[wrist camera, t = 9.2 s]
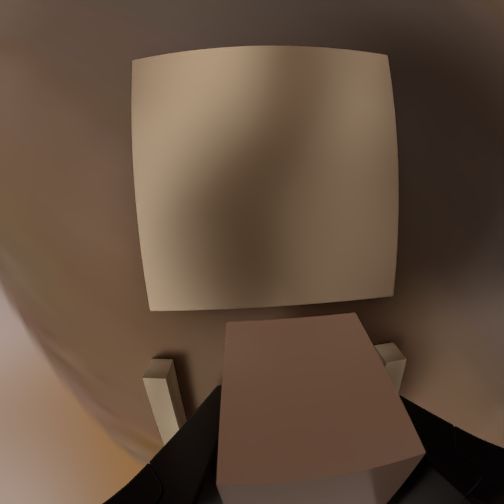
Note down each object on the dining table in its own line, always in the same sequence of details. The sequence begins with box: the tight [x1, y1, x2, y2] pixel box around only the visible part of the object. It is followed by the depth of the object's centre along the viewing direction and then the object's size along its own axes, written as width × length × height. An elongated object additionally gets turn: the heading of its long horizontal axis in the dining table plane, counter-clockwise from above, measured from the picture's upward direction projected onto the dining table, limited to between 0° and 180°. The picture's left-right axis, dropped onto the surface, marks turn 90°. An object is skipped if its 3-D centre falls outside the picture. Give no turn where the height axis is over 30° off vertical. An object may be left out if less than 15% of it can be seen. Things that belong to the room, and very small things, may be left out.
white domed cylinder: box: [216, 313, 426, 504], centre depth 8 cm, size 11×7×7 cm, turn 3°
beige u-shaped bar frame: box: [143, 342, 406, 446], centre depth 13 cm, size 11×9×2 cm
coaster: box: [132, 46, 399, 311], centre depth 11 cm, size 10×10×1 cm
